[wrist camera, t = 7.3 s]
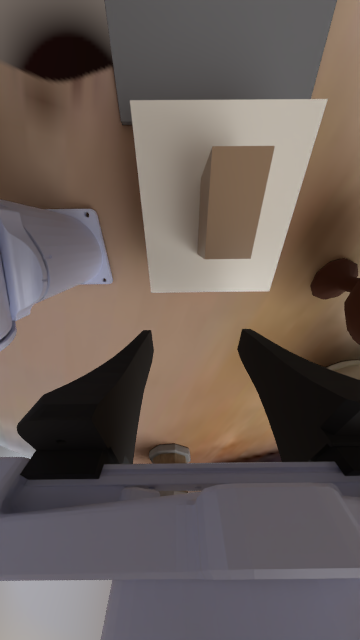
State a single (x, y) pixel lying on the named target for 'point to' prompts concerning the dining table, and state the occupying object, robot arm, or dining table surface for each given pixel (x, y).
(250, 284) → the lid
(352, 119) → the dining table surface
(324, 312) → the dining table surface
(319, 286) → the ice cream bowl
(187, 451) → the tankard
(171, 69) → the mat
